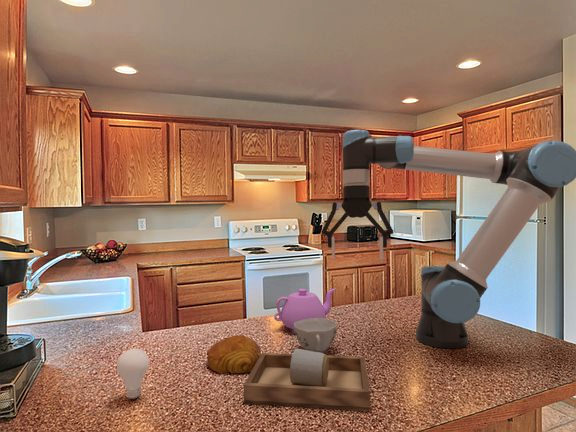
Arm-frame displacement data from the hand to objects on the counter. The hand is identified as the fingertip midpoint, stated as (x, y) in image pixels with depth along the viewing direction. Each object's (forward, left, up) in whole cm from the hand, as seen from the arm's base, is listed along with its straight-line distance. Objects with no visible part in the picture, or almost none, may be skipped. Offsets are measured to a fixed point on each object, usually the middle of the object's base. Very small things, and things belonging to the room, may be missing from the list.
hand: (357, 259), depth 111 cm
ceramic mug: (+12, +22, -26) cm, 37 cm away
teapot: (+17, -19, -27) cm, 37 cm away
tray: (+12, +24, -27) cm, 38 cm away
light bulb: (+50, +34, -27) cm, 66 cm away
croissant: (+33, +13, -27) cm, 45 cm away
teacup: (+12, +2, -27) cm, 30 cm away
